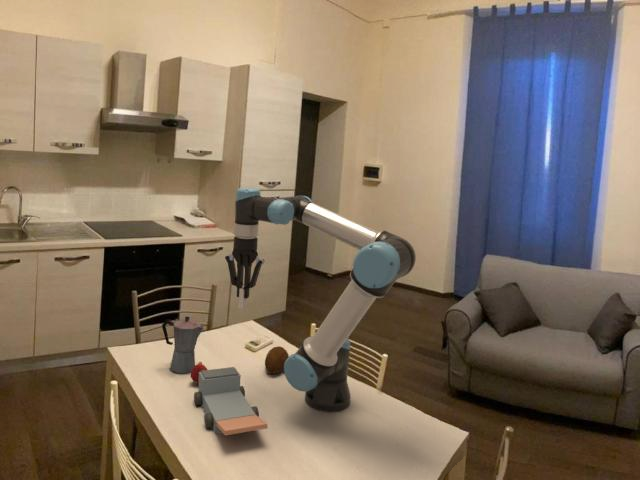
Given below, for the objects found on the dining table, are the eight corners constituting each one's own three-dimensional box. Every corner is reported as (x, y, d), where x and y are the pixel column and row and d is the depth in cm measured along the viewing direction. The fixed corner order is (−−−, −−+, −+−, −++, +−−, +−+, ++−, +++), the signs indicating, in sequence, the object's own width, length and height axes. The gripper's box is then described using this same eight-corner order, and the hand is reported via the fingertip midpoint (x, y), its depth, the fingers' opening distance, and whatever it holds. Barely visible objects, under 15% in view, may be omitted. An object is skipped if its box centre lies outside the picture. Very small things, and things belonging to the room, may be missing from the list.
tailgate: (215, 421, 153) (225, 430, 144) (255, 414, 158) (267, 423, 149) (215, 427, 153) (225, 437, 144) (255, 420, 158) (267, 429, 149)
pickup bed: (192, 398, 173) (193, 371, 171) (239, 392, 179) (240, 365, 178) (208, 434, 153) (210, 403, 152) (260, 425, 160) (262, 395, 158)
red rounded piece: (203, 389, 180) (204, 366, 178) (187, 386, 181) (188, 364, 180) (210, 381, 186) (211, 360, 184) (194, 378, 187) (195, 357, 185)
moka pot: (199, 376, 189) (201, 322, 185) (156, 372, 189) (157, 319, 185) (205, 365, 198) (208, 313, 194) (164, 361, 198) (165, 310, 195)
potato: (255, 372, 196) (256, 349, 194) (275, 362, 206) (276, 340, 204) (273, 379, 191) (275, 356, 190) (293, 368, 201) (294, 346, 200)
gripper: (269, 237, 173) (265, 306, 177) (231, 232, 176) (228, 301, 181) (260, 240, 166) (256, 313, 170) (222, 235, 169) (219, 307, 173)
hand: (242, 307), depth 175 cm, fingers closed
